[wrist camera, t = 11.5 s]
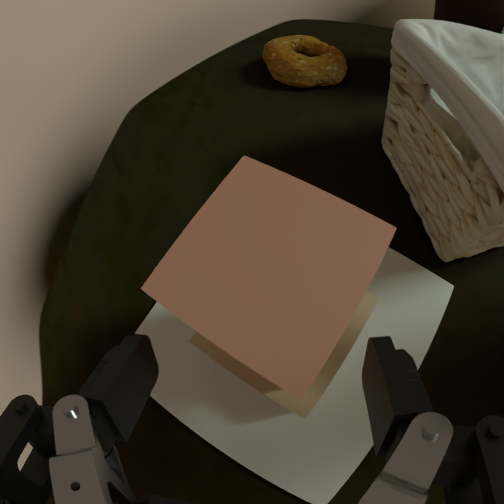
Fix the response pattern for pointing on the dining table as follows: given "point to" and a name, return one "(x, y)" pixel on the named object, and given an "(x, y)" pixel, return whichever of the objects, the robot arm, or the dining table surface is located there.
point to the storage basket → (449, 131)
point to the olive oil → (472, 13)
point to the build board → (278, 417)
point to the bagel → (304, 61)
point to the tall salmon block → (272, 271)
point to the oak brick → (320, 382)
